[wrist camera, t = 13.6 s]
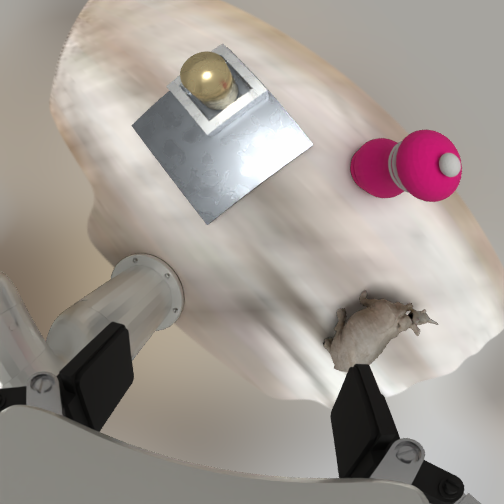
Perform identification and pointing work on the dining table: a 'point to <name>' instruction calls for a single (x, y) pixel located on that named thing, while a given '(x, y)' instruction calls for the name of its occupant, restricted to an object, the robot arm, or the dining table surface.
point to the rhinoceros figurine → (370, 331)
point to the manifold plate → (221, 140)
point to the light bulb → (209, 80)
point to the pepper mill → (408, 166)
